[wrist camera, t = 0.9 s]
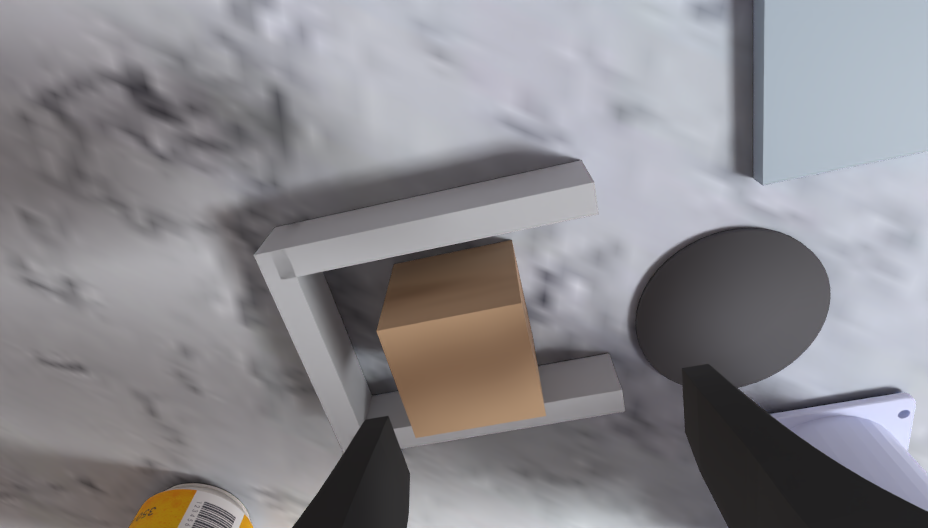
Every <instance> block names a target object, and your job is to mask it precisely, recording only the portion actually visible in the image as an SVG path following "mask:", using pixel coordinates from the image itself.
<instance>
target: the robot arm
mask: <svg viewBox="0 0 928 528" xmlns="http://www.w3.org/2000/svg"><path fill="white" fill-rule="evenodd" d="M682 381H683V400H684V418H685V433H686V435H687V438H688V441H689V444H690V446H691V449H692V452H693V454H694V457H695V460H696V462H697V465H698V467H699V470H700V472H701V474H702V476H703V478H704V480H705V482H706V484H707V486H708V488H709V490H710V492H711V494H712V496H713V498H714V500H715V502H716V504H717V506H718V508H719V510H720V512H721V514H722V515H723V517H724V519H725V521H726V523H727V525H728V527H729V528H928V473H927V472H926V471H925V470H924V469H923V468H922V467H921V466H920V464H919V463H918V462H917V461H916V460H915V459H914V458H913V457H912V456H911V455H910V453H909V452H908V448H909V442H910V436H911V430H912V424H913V419H914V413H915V407H916V400H915V399H914V398H913V397H912V396H911V395H910V394H908V393H897V394H890V395H884V396H878V397H872V398H866V399H859V400H853V401H847V402H841V403H835V404H829V405H822V406H816V407H810V408H804V409H798V410H791V411H785V412H779V413H773V414H769V413H767V412H766V411H765V410H763V409H762V408H761V407H760V406H758V405H757V404H756V403H755V402H753V401H752V400H751V399H750V398H749V397H747V396H746V395H745V394H744V393H743V392H741V391H740V390H739V389H738V388H737V387H735V386H734V385H733V384H732V383H731V382H730V381H729V380H727V379H726V378H725V377H724V376H723V375H722V374H720V373H719V372H718V371H717V370H716V369H715V368H714V367H712V366H711V365H709V364H703V365H697V366H691V367H685V368H682ZM409 488H410V473H409V470H408V467H407V465H406V462H405V459H404V456H403V454H402V451H401V448H400V446H399V443H398V440H397V437H396V435H395V432H394V429H393V427H392V424H391V421H390V418H389V416H384V417H378V418H372V419H366V420H365V421H364V422H363V423H362V425H361V427H360V428H359V430H358V431H357V433H356V434H355V436H354V438H353V439H352V441H351V442H350V444H349V446H348V447H347V449H346V451H345V452H344V454H343V455H342V457H341V458H340V460H339V462H338V463H337V465H336V466H335V468H334V469H333V471H332V472H331V474H330V475H329V477H328V478H327V480H326V481H325V483H324V484H323V486H322V487H321V489H320V490H319V492H318V493H317V495H316V496H315V497H314V499H313V500H312V501H311V503H310V504H309V506H308V507H307V508H306V510H305V511H304V512H303V514H302V515H301V517H300V518H299V519H298V521H297V522H296V523H295V525H294V526H293V527H292V528H407V522H408V515H409Z"/></svg>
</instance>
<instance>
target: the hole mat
mask: <svg viewBox="0 0 928 528" xmlns="http://www.w3.org/2000/svg"><path fill="white" fill-rule="evenodd" d="M829 304H830V284H829V279H828V276H827V273H826V271H825V268H824V267H823V265H822V263H821V262H820V260H819V259H818V258H817V257H816V255H815V254H814V253H813V252H812V251H811V250H810V249H808V248H807V247H806V246H805V245H803V244H802V243H801V242H799V241H798V240H796V239H794V238H792V237H791V236H788V235H785V234H783V233H780V232H776V231H772V230H768V229H758V228H741V229H734V230H727V231H723V232H720V233H716V234H713V235H710V236H707V237H704V238H702V239H700V240H698V241H696V242H694V243H692V244H690V245H688V246H686V247H685V248H683V249H682V250H680V251H679V252H677V253H676V254H675V255H673V256H672V257H671V258H670V259H668V260H667V261H666V262H665V263H664V264H663V265H662V266H661V267H660V268H659V269H658V270H657V272H656V273H655V274H654V276H653V277H652V278H651V279H650V281H649V283H648V284H647V286H646V288H645V289H644V292H643V294H642V296H641V298H640V301H639V305H638V309H637V315H636V332H637V337H638V341H639V343H640V346H641V349H642V351H643V353H644V354H645V356H646V358H647V360H648V361H649V362H650V363H651V365H652V366H653V367H654V368H655V369H656V370H657V371H658V372H660V373H661V374H662V375H664V376H665V377H667V378H668V379H670V380H672V381H674V382H676V383H678V384H681V385H683V381H682V368H685V367H691V366H697V365H703V364H709V365H711V366H712V367H714V368H715V369H716V370H717V371H718V372H719V373H720V374H722V375H723V376H724V377H725V378H726V379H727V380H729V381H730V382H731V383H732V384H733V385H734V386H735V387H737V388H738V387H742V386H746V385H749V384H753V383H756V382H758V381H761V380H763V379H766V378H768V377H770V376H772V375H774V374H776V373H777V372H779V371H781V370H782V369H784V368H785V367H787V366H788V365H790V364H791V363H792V362H793V361H795V360H796V359H797V358H798V357H799V356H800V355H801V354H802V353H803V352H804V351H805V350H806V349H807V348H808V347H809V346H810V345H811V343H812V342H813V341H814V340H815V338H816V337H817V335H818V333H819V332H820V330H821V328H822V326H823V324H824V322H825V320H826V317H827V313H828V310H829Z"/></svg>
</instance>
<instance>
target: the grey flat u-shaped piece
mask: <svg viewBox="0 0 928 528" xmlns="http://www.w3.org/2000/svg"><path fill="white" fill-rule="evenodd" d="M597 214H598V206H597V199H596V191H595V184H594V181H593V179H592V177H591V176H590V174H589V172H588V171H587V169H586V167H585V165H584V164H583V162H582V160H580V161H575V162H571V163H566V164H562V165H557V166H552V167H548V168H543V169H539V170H534V171H530V172H525V173H521V174H516V175H511V176H507V177H502V178H498V179H493V180H489V181H484V182H480V183H475V184H470V185H466V186H461V187H457V188H452V189H448V190H443V191H439V192H434V193H429V194H425V195H420V196H416V197H411V198H407V199H402V200H398V201H393V202H389V203H384V204H379V205H375V206H370V207H366V208H361V209H357V210H352V211H348V212H343V213H338V214H334V215H329V216H325V217H320V218H316V219H311V220H307V221H302V222H297V223H293V224H288V225H284V226H279V227H275V228H274V229H273V230H272V232H271V233H270V234H269V236H268V237H267V238H266V240H265V241H264V242H263V244H262V245H261V246H260V248H259V249H258V250H257V252H256V253H255V254H254V257H255V259H256V262H257V264H258V266H259V268H260V270H261V273H262V275H263V277H264V279H265V281H266V284H267V286H268V288H269V290H270V292H271V295H272V297H273V299H274V301H275V304H276V306H277V308H278V310H279V312H280V315H281V317H282V319H283V321H284V323H285V326H286V328H287V330H288V332H289V334H290V337H291V339H292V341H293V343H294V345H295V348H296V350H297V352H298V354H299V356H300V359H301V361H302V363H303V365H304V367H305V370H306V372H307V374H308V376H309V378H310V381H311V383H312V385H313V387H314V389H315V392H316V394H317V396H318V398H319V401H320V403H321V405H322V407H323V409H324V412H325V414H326V416H327V418H328V420H329V423H330V425H331V427H332V429H333V431H334V434H335V436H336V438H337V440H338V442H339V445H340V447H341V449H342V451H343V453H344V452H345V451H346V449H347V447H348V446H349V444H350V442H351V441H352V439H353V438H354V436H355V434H356V433H357V431H358V430H359V428H360V427H361V425H362V423H363V422H364V421H365V420H366V419H372V418H378V417H384V416H389V418H390V421H391V424H392V427H393V429H394V432H395V435H396V437H397V440H398V443H399V446H400V448H401V449H404V448H410V447H416V446H422V445H428V444H434V443H440V442H446V441H452V440H458V439H464V438H470V437H476V436H482V435H488V434H494V433H500V432H506V431H512V430H518V429H524V428H530V427H536V426H542V425H548V424H554V423H560V422H566V421H572V420H578V419H584V418H590V417H596V416H602V415H608V414H614V413H620V412H625V406H624V399H623V391H622V388H621V385H620V382H619V379H618V377H617V374H616V371H615V368H614V365H613V363H612V360H611V357H610V354H609V353H608V354H602V355H597V356H591V357H586V358H580V359H574V360H569V361H563V362H558V363H552V364H547V365H541V366H538V370H539V376H540V382H541V388H542V394H543V400H544V406H545V412H546V416H543V417H537V418H532V419H526V420H520V421H514V422H508V423H502V424H496V425H490V426H484V427H478V428H472V429H466V430H461V431H455V432H449V433H443V434H437V435H431V436H425V437H419V438H415V435H414V432H413V429H412V427H411V424H410V421H409V419H408V416H407V413H406V410H405V408H404V405H403V402H402V399H401V397H400V394H399V391H396V392H390V393H385V394H379V395H374V396H372V395H371V392H370V390H369V387H368V385H367V382H366V380H365V377H364V374H363V372H362V369H361V367H360V364H359V362H358V359H357V357H356V354H355V352H354V349H353V347H352V344H351V342H350V339H349V337H348V334H347V332H346V329H345V327H344V324H343V322H342V319H341V317H340V314H339V311H338V309H337V306H336V304H335V301H334V299H333V296H332V294H331V291H330V289H329V286H328V284H327V281H326V279H325V276H324V274H323V271H328V270H333V269H337V268H342V267H347V266H352V265H357V264H362V263H366V262H371V261H376V260H381V259H386V258H390V257H395V256H400V255H405V254H410V253H414V252H419V251H424V250H429V249H434V248H438V247H443V246H448V245H453V244H458V243H463V242H467V241H472V240H477V239H482V238H487V237H491V236H496V235H501V234H506V233H511V232H515V231H520V230H525V229H530V228H535V227H539V226H544V225H549V224H554V223H559V222H564V221H568V220H573V219H578V218H583V217H588V216H592V215H597Z"/></svg>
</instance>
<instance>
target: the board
mask: <svg viewBox="0 0 928 528" xmlns="http://www.w3.org/2000/svg"><path fill="white" fill-rule="evenodd" d="M923 152H928V0H754V84H753V179H755V180H756V181H758V182H759V183H760V184H762V185H768V184H773V183H778V182H783V181H788V180H792V179H797V178H802V177H807V176H812V175H817V174H821V173H826V172H831V171H836V170H841V169H846V168H850V167H855V166H860V165H865V164H870V163H875V162H879V161H884V160H889V159H894V158H899V157H904V156H908V155H913V154H918V153H923Z"/></svg>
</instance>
